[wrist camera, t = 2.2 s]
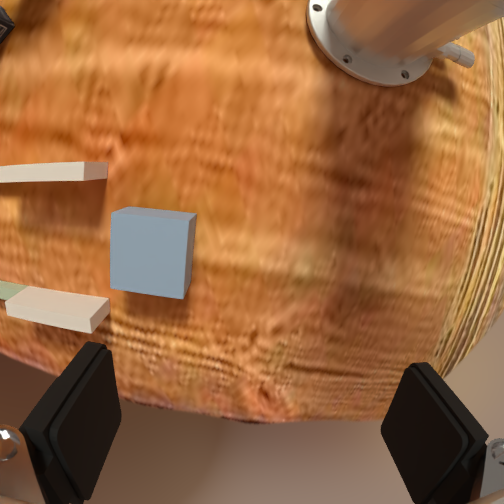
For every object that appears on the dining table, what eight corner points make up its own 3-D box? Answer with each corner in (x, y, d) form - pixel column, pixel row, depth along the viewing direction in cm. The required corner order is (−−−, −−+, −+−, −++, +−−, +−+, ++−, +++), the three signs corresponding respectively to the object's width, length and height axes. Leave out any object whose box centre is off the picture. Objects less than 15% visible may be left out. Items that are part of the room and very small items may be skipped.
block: (197, 213, 26) (189, 220, 22) (191, 281, 27) (183, 299, 24) (129, 206, 26) (111, 212, 22) (126, 272, 27) (110, 288, 23)
